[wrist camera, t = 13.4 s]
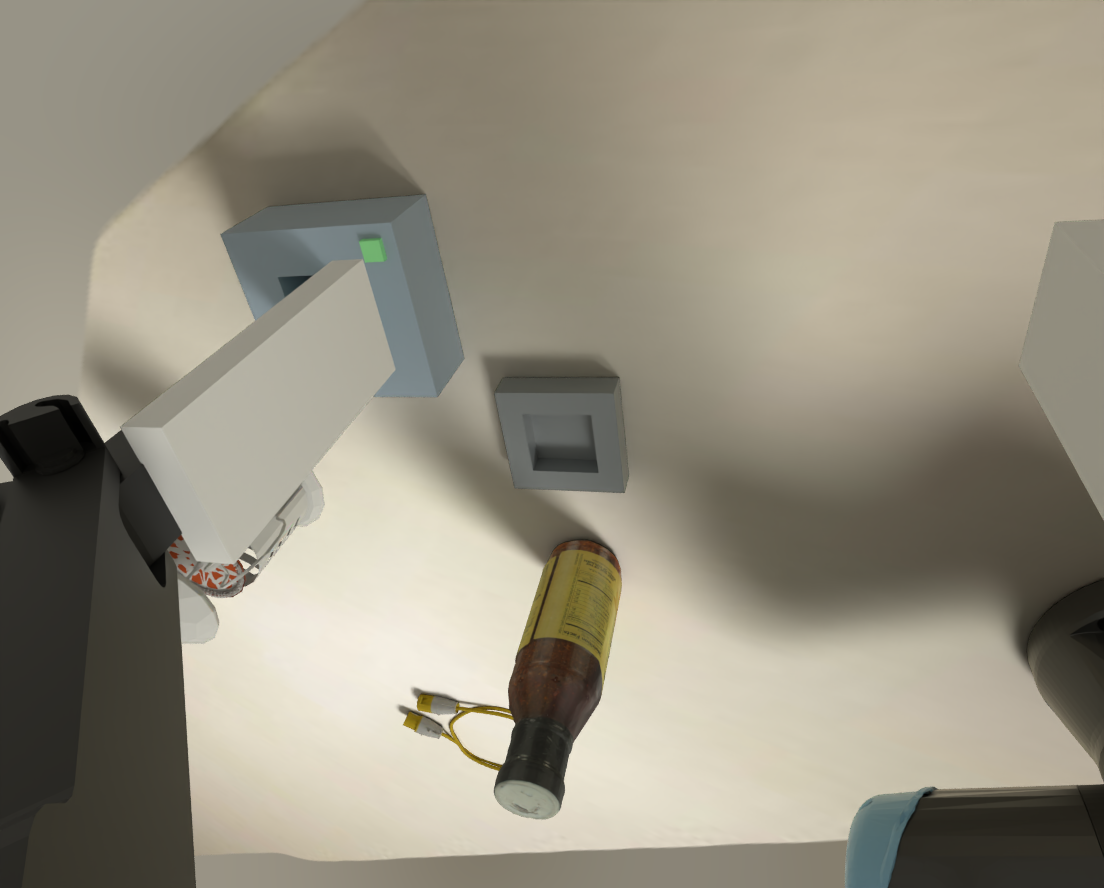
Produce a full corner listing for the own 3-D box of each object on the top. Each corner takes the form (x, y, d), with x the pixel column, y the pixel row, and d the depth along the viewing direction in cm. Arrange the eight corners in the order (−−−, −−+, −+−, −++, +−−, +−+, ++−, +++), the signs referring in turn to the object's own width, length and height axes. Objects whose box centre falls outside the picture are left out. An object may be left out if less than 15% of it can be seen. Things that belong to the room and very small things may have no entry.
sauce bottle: (577, 599, 60) (509, 838, 45) (533, 548, 58) (446, 781, 42) (644, 578, 57) (595, 828, 41) (600, 523, 55) (531, 765, 39)
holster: (629, 475, 51) (624, 493, 50) (522, 471, 53) (514, 488, 52) (619, 377, 47) (613, 393, 45) (503, 377, 49) (494, 392, 47)
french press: (195, 454, 61) (-76, 708, 42) (288, 415, 56) (27, 684, 36) (269, 537, 65) (54, 803, 46) (362, 508, 60) (164, 795, 40)
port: (464, 358, 49) (435, 400, 45) (322, 359, 52) (282, 399, 48) (425, 194, 43) (387, 224, 38) (267, 206, 46) (216, 236, 42)
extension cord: (459, 665, 71) (452, 682, 69) (578, 749, 74) (573, 767, 73) (397, 704, 78) (389, 720, 76) (508, 780, 81) (503, 797, 80)
